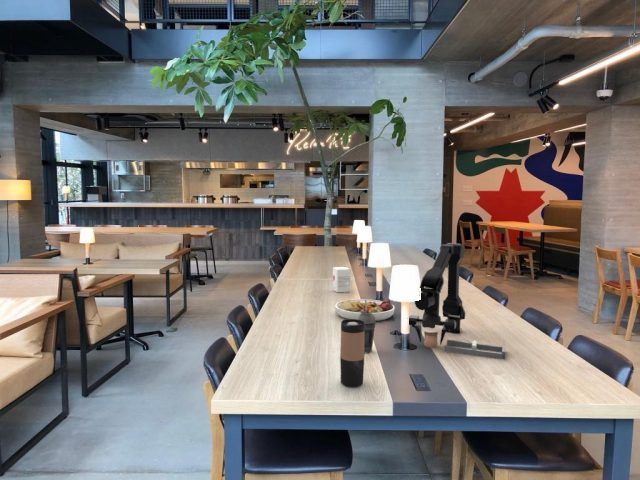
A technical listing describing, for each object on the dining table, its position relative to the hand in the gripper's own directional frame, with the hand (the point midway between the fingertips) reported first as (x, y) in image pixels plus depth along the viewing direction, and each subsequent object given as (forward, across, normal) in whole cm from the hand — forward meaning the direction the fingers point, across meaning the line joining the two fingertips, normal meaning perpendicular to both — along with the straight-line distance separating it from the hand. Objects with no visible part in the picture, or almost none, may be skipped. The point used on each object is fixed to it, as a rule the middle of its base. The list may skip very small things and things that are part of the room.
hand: (430, 343), depth 182 cm
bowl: (+2, -39, +35) cm, 52 cm away
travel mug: (+1, -17, -48) cm, 51 cm away
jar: (+1, 0, 0) cm, 1 cm away
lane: (+1, +17, 0) cm, 17 cm away
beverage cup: (+1, -22, -17) cm, 28 cm away
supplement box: (+1, -70, +84) cm, 109 cm away
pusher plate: (+1, +17, 0) cm, 17 cm away
